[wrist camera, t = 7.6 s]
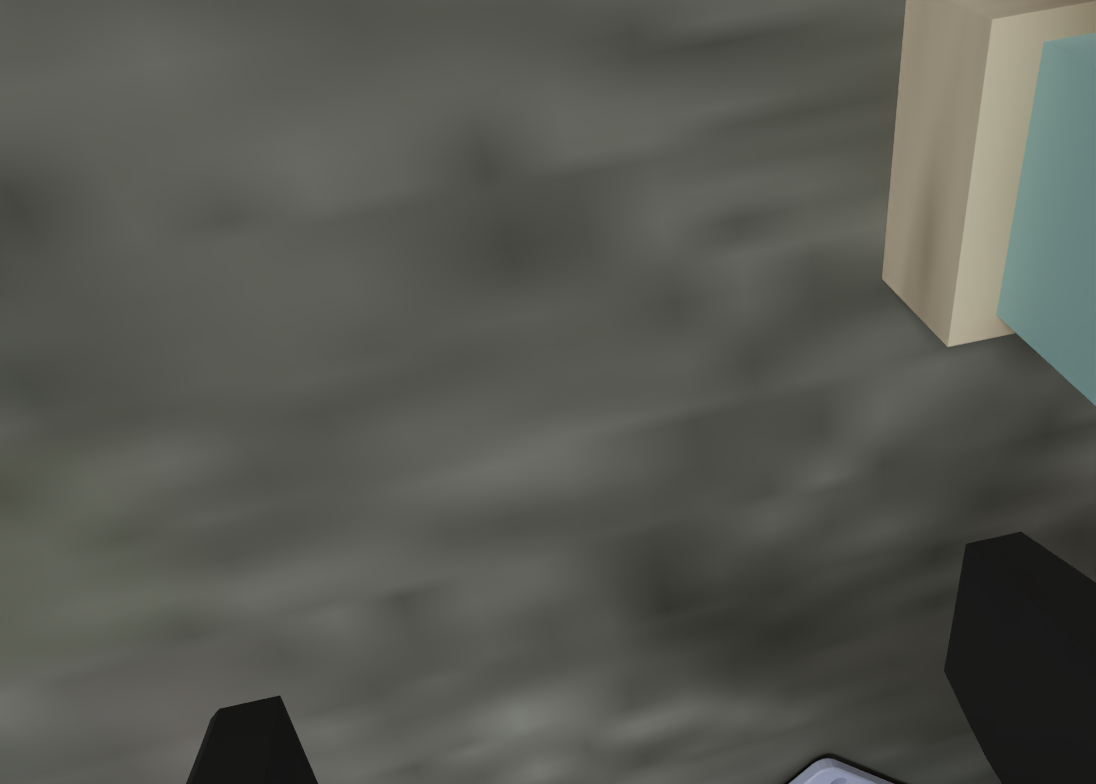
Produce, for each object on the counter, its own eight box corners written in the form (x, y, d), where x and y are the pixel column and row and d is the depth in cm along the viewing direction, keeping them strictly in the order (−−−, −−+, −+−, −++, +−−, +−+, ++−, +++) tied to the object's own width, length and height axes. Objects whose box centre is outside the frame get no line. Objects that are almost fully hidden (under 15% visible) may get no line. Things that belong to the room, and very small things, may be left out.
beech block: (1214, -79, 18) (1352, -45, 16) (1141, 221, 22) (1243, 286, 19) (901, -24, 18) (992, 19, 15) (876, 273, 21) (947, 347, 19)
